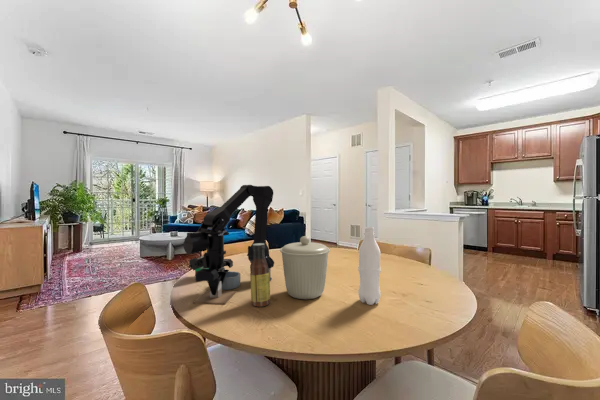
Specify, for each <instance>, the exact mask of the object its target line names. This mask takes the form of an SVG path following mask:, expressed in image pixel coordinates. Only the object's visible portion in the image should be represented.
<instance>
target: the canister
mask: <svg viewBox="0 0 600 400" xmlns="http://www.w3.org/2000/svg"><path fill="white" fill-rule="evenodd" d="M279 251H280V253H281V259H282V268H283V276H284V281H285V282H284V283H285V289H286V292H287V294H288V295H289V296H290V297H293V299H298V300H312V299H316V298H318V297H320V296H321V295H322V294H323V293H324V290H325V287H326V279H327V271H328V270H327V269H328V260H329V254H330V252H331V249H330V248H329V247H328V246H327V245H325V244H323V243H320V242H319V243H318V242H313V241H312V242H311V238H310V237H309V236H308V235H304V236H303V235H302V236H301V237H300V238H299V242H298V241H297V242H291V243H288V244H285V245H284V246H282V247H281V248H280V249H279Z"/></svg>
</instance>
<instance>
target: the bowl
mask: <svg viewBox="0 0 600 400" xmlns="http://www.w3.org/2000/svg"><path fill="white" fill-rule="evenodd" d="M240 286H241V273H240V272H239V271H232V270H231V271H230V270H229V271H228V273H227V275H226V277H225V279H224V282H223V284H222V291H232V290H234V289H238V288H239V287H240Z"/></svg>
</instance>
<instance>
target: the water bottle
mask: <svg viewBox="0 0 600 400" xmlns="http://www.w3.org/2000/svg"><path fill="white" fill-rule="evenodd" d="M363 234H364V235H363V236H364V237H363V240H362V242H361V244H360V246H359V248H358V269H357V271H358V273H359V286H358V292H357V293H358V297H359V300H360V302H361V303H362V304H365V303H366V304H367V305H369V306H373V305H374V304H379V302H380V299H381V295H382V294H381V293H382V292H381V288H380V274H381V272H382V271H381V254H382V253H381V249H380V247H379V244H378V242H377V241H376V238H375V227H373V226H365V227H364V233H363Z"/></svg>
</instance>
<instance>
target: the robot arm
mask: <svg viewBox="0 0 600 400" xmlns="http://www.w3.org/2000/svg"><path fill="white" fill-rule="evenodd" d="M250 197H252V201H253V203H254V205H255V217H254V220H255V221H254V232H253V242H252V244H251V245H248V246H247V255H246V256H247V259H248V260H249V263H250V264H251V263H252V260H253V249H252V245H253V244H256V243H263V244H265V248H264V254H265V259H266V262H267V265H268V268H269V279H270V281H271V280H272V277H271V276H272V275H271V271H272V270H271V269H272V268H274V265H275V260H274V259H273V258H271V256H270V249H269V247H268V245H267V230H268V229H267V227H268V215H269V213H268V211H269V207H270V205H271V204H272V203H273V199H274V198H273V197H274V189H272V187H271V186H269V185H252V184H242V185H240V188H239V189H238V190H237V191H236V192H234V194H233V195H231V196H230V198H229V199H227V200H226V201H225V202H224V203H223V204H222V205H221V206H219V207H216V208H215V209H213V210H211V211H209V212H208V213H207V214H205V216H204V217H203V221H202V223H201V225H200V226H199V228H198V230H197V231H196V232H192V231H190V232H187V233H186V237H184V240H183V242H182V243H183V245H182V246H183V250H184V252H185V253H186V254H187V255H190V254H196V253H203V252H204V253H203V255H204V257H201V258H199V257H193V258H191V259H189V262H188V268H190V269H191V270H192V271H194V272H195V270H196V269H198V268H201V267H203V268H208V269H201V270H200V271H198V272H197V273H196V274H195V273H194V280H195V282H196V281H199V282H207V284H208V287H209V290H211V293H212V295H216V292H217V289H218V286H219V282H220V281H222V284H223V282H224V279H225V277H226V275H227V273H228V272H229V271H230V270H229V269H230V268H232V267H233V266H234V261H233V260H232V258H225V255H226V254H227V250H225V246H224V244H225V238H224V237H225V236H229V235H230V233H229V232H228V231H227V230H226V229H225V228H226V226H227V225H228V224H229V223H230V220H231V217H232V215H233V213H235V212H236V211H237V210H238V209H239V208H240V207H241V206H242V205H243V204H244V203H245V202H246V200H247V199H249V198H250ZM205 252H206V253H205ZM197 258H198V259H197ZM226 267H228V268H229V269H226Z"/></svg>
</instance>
